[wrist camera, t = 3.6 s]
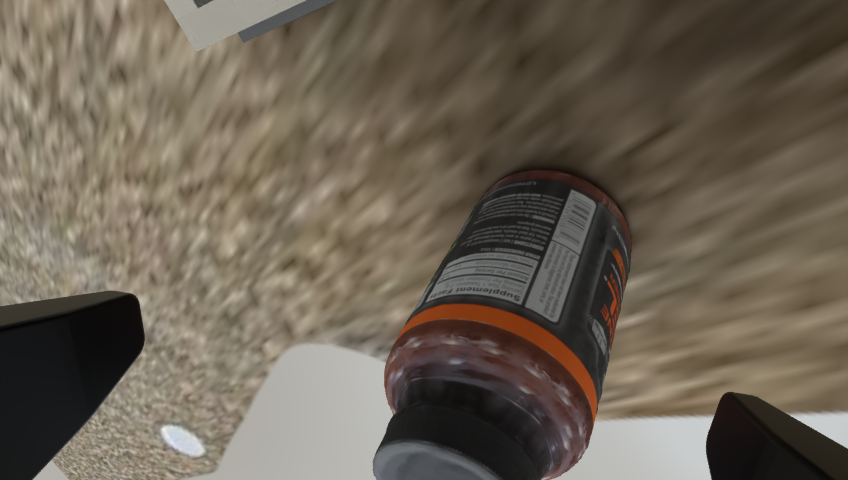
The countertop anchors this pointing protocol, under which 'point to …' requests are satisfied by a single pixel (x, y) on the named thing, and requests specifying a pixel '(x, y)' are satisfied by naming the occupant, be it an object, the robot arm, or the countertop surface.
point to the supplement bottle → (510, 337)
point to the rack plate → (236, 17)
